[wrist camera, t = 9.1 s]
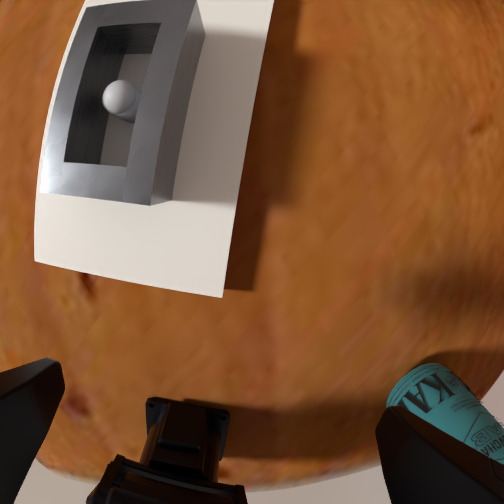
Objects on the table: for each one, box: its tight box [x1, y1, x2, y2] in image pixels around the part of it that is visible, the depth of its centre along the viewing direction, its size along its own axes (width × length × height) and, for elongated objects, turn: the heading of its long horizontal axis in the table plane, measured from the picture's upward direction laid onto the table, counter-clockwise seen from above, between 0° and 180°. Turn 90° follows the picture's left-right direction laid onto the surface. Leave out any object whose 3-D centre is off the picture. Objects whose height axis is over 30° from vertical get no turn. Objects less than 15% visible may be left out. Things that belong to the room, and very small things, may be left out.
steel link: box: [40, 0, 205, 206], centre depth 13 cm, size 10×6×4 cm, turn 170°
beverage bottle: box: [386, 363, 504, 464], centre depth 11 cm, size 6×7×20 cm
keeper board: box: [34, 0, 274, 298], centre depth 14 cm, size 20×13×5 cm, turn 171°
